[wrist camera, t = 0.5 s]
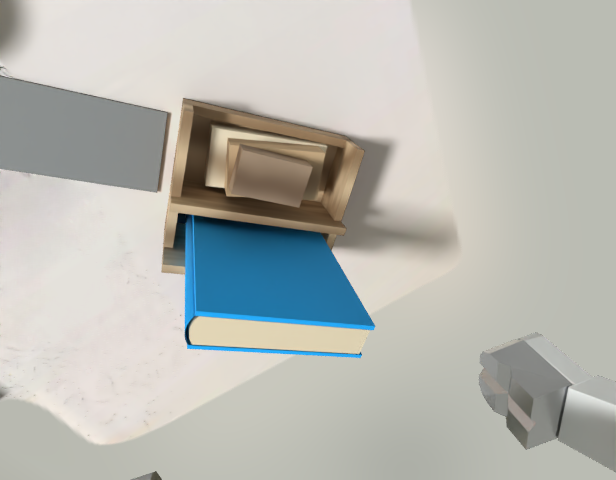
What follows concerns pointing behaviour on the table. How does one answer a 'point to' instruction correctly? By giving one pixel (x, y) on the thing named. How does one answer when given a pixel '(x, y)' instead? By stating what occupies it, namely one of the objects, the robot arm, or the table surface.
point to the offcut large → (222, 132)
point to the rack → (214, 203)
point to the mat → (79, 136)
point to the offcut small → (269, 176)
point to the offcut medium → (294, 150)
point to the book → (268, 291)
